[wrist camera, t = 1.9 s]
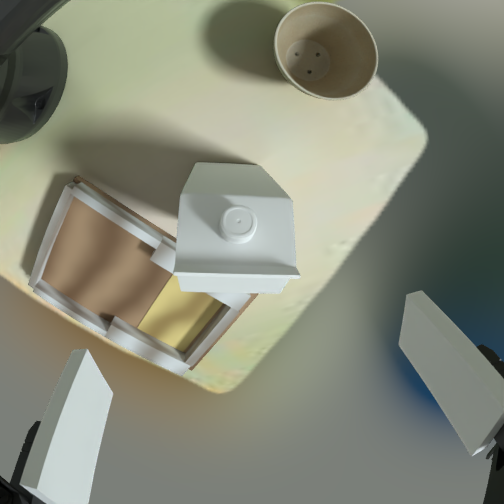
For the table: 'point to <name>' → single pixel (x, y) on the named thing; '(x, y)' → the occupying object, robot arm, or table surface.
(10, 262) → the table surface
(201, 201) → the milk carton
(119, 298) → the divided compartment tray
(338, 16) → the flower pot
